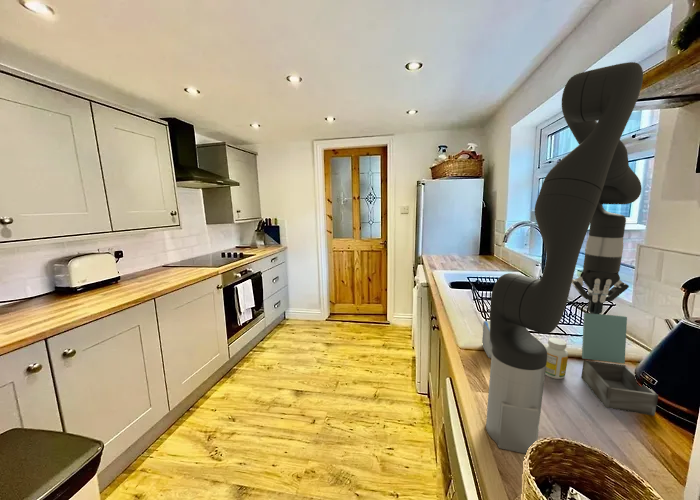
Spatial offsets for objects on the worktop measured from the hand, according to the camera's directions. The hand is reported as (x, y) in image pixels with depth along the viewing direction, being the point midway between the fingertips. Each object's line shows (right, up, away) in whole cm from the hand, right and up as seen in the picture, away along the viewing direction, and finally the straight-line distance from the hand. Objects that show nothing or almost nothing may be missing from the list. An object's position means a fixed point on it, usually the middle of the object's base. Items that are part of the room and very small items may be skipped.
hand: (594, 314), depth 82 cm
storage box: (-4, -17, -10) cm, 21 cm away
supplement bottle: (-13, -16, -2) cm, 20 cm away
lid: (-2, -5, -5) cm, 8 cm away
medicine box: (-24, -14, +10) cm, 29 cm away
